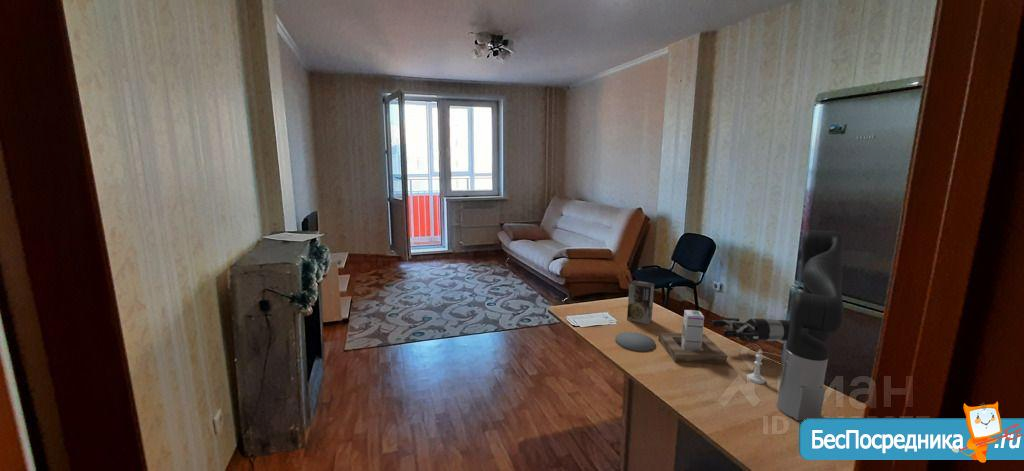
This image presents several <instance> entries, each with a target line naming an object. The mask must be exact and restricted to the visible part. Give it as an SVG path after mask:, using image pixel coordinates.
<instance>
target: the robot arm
mask: <svg viewBox="0 0 1024 471" xmlns="http://www.w3.org/2000/svg"><path fill="white" fill-rule="evenodd" d="M844 239H845V238H844V237H843V234H842V233H841V232H840V231H839V232H838V231H835V230H820V229H819V230H817V229H807V230H806V231H804V233H803V236H802V241H801V270H802V271H801V273H802V284H803V285H802V288H803V289H802V291H799V292H796V294H795V295H794V296H793V298H792V302H791V308H790V319H788V320H787V319H786V320H785V319H772V318H771V319H770V318H750V319H748V320H747V321H746V322H744V321H741V320H740V318H734V317H722V318H721V320H719V319H716V320H715V319H713V320H712V321H711V325H712V327H713V328H715V327H716V328H727V329H724V330H723V337H725V338H735V339H739V340H740V341H742V342H759V341H760V342H761V341H762V342H766V341H767V342H775V341H777V342H778V341H786V346H785V352H784V357H783V363H782V371H781V376H780V380H779V381H780V383H779V387H778V388H779V389H778V396H777V401H776V406H777V408H778V410H780V412H782V413H783V414H784V415H786V416H788V417H790V418H793V419H794V420H795V421H800V422H803V421H802V420H804V419H807V418H820V419H821V415H822V410H823V405H824V401H825V400H824V399H825V393H826V388H825V387H824V382H825V379H826V372H827V367H828V361H829V357H830V347H829V346H828V345H827V344H826V343H827V342H828V340H829V338H830V336H831V334H835V333H837V332H838V331H840V330H841V328H842V325H843V323H844V319H845V318H844V316H845V315H844V314H845V311H844V310H845V309H844V302H843V295H842V290H843V289H842V286H843V277H844V276H843V262H842V261H843V253H844V249H845V240H844Z"/></svg>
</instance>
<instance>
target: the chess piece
mask: <svg viewBox="0 0 1024 471" xmlns="http://www.w3.org/2000/svg"><path fill="white" fill-rule="evenodd" d="M762 354H763V351H762V350H761V349H759V350H758V351H757V354H755V361H754V364H755V367H754V371H753V372H752V373H747V376H746V378H747V380H748V381H750V382H752V383H754V384H757V385H759V384H760V385H764V384H765V383H766V379H765V377H764V376H762V375H761V373H760V372H761V371H760V370H761V367H760V366H762V365H763V363H762V360H763V359H764V356H763V355H762Z"/></svg>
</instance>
